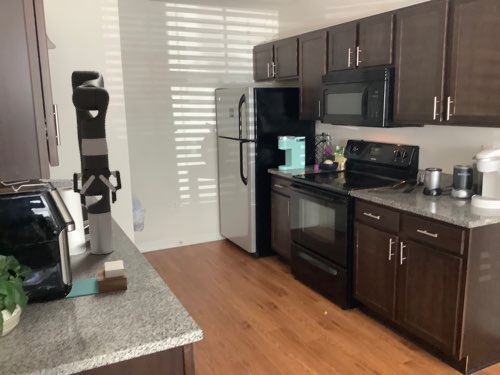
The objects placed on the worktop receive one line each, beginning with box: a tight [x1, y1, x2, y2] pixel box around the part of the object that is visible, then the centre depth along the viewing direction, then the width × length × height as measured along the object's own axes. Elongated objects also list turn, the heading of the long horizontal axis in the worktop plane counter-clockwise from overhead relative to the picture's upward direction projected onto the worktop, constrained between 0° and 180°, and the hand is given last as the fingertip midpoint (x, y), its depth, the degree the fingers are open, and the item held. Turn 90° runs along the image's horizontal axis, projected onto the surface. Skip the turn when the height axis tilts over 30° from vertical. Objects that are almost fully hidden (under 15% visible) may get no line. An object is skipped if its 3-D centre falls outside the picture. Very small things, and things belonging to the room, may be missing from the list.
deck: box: [96, 264, 128, 294], centre depth 148 cm, size 13×9×4 cm
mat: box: [64, 276, 100, 299], centre depth 145 cm, size 14×10×1 cm
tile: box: [104, 259, 125, 278], centre depth 148 cm, size 9×6×2 cm, turn 20°
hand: (99, 204), depth 137 cm, fingers open, 8 cm apart
